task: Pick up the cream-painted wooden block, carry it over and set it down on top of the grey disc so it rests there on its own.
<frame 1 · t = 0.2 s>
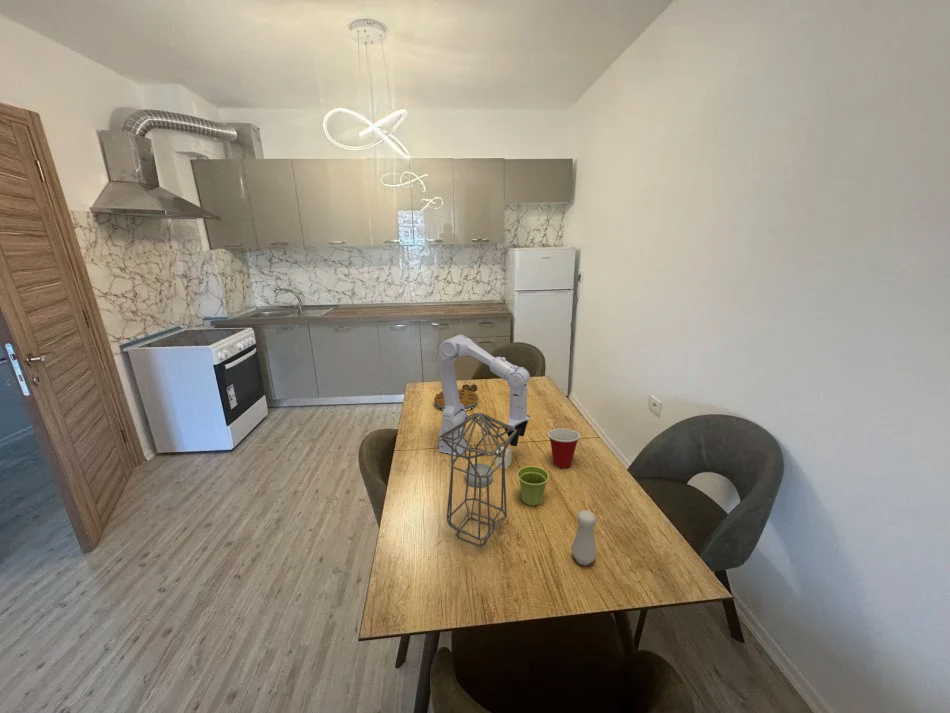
hand: (517, 440, 131), 10 cm above the table, fingers open, 7 cm apart
geometric lantern: (479, 533, 103), on the table
plastic cup: (562, 464, 134), on the table
pie: (456, 404, 187), on the table
salt shaker: (583, 559, 93), on the table
grey disc: (479, 480, 126), on the table
cream block: (503, 464, 135), on the table
plant pot: (532, 500, 116), on the table
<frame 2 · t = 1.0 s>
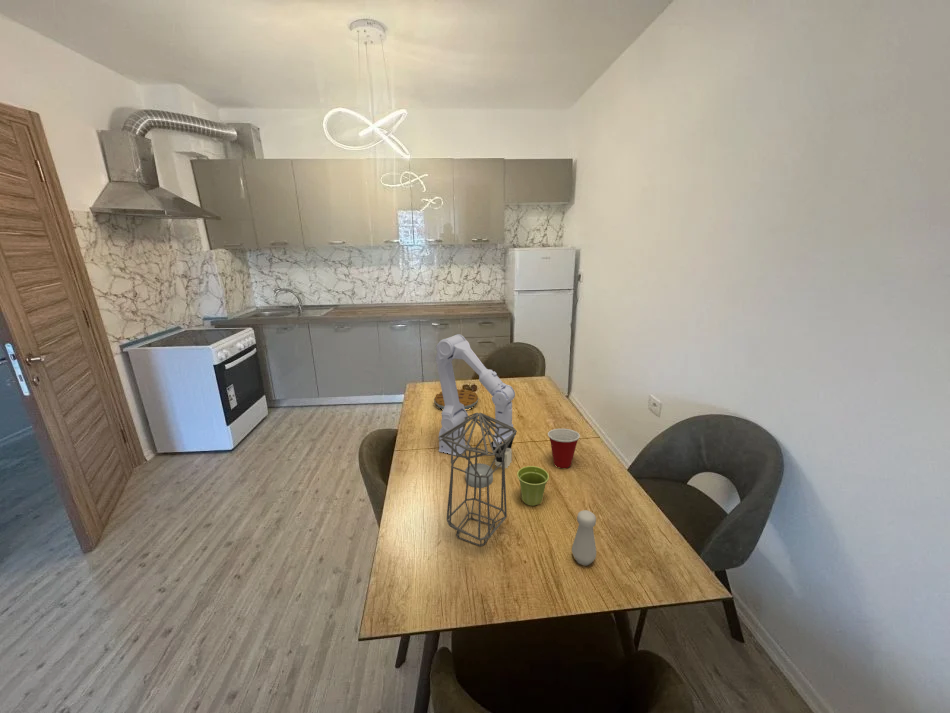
hand: (503, 456, 134), 3 cm above the table, fingers open, 7 cm apart
nothing on the table moved.
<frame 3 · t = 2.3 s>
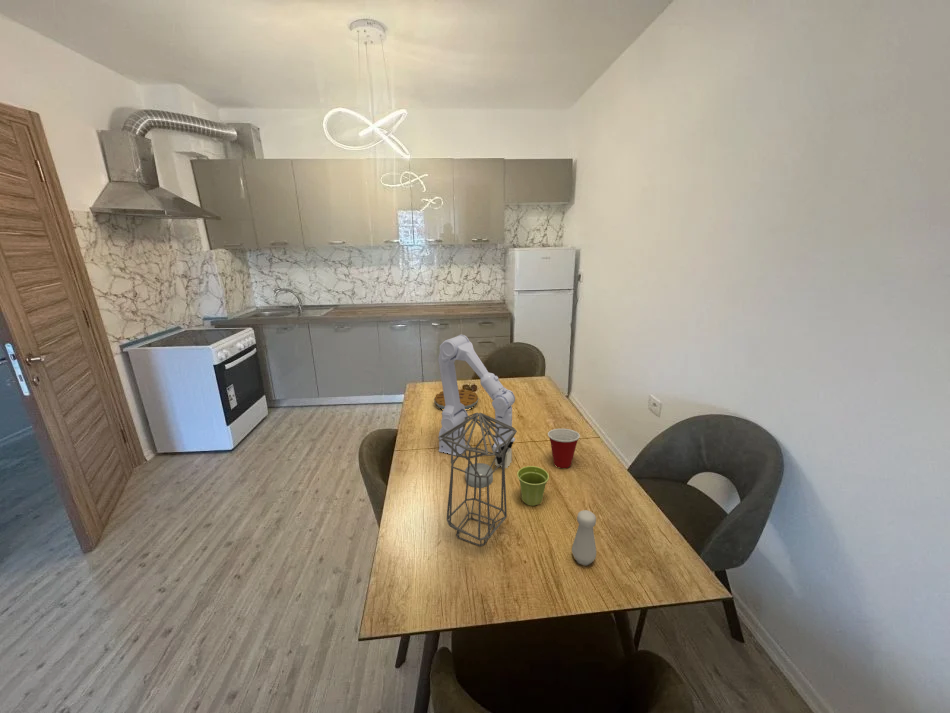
hand: (503, 460, 134), 1 cm above the table, fingers closed on cream block, 4 cm apart
cream block: (503, 463, 135), on the table, touching gripper
everything else where it was.
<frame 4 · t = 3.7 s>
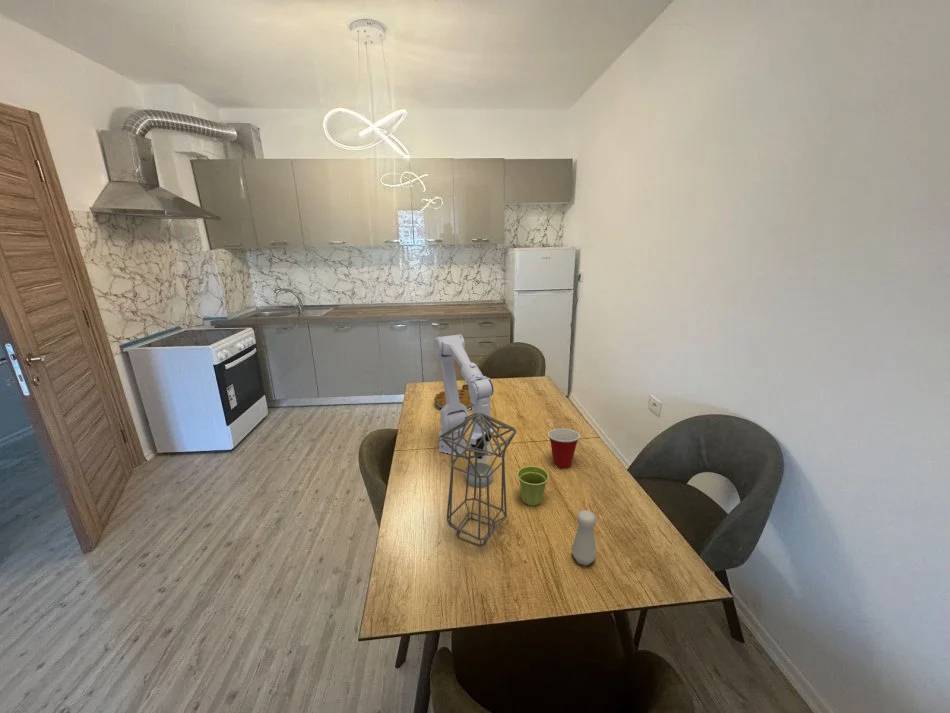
hand: (481, 454, 124), 9 cm above the table, fingers closed on cream block, 4 cm apart
cream block: (482, 459, 125), point 7 cm above the table, touching gripper
everything else where it was.
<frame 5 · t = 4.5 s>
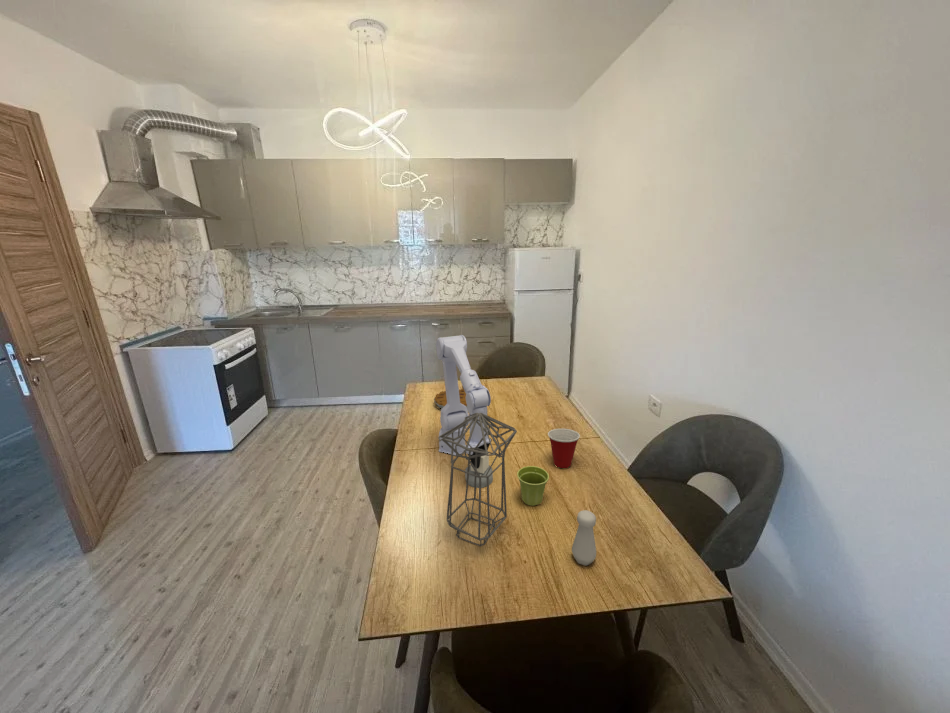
hand: (479, 463, 124), 6 cm above the table, fingers closed on cream block, 4 cm apart
cream block: (479, 468, 124), point 4 cm above the table, touching gripper
everything else where it was.
when the fingers open (6 cm above the table, at t = 5.2 s): cream block drops 1 cm, resting on grey disc.
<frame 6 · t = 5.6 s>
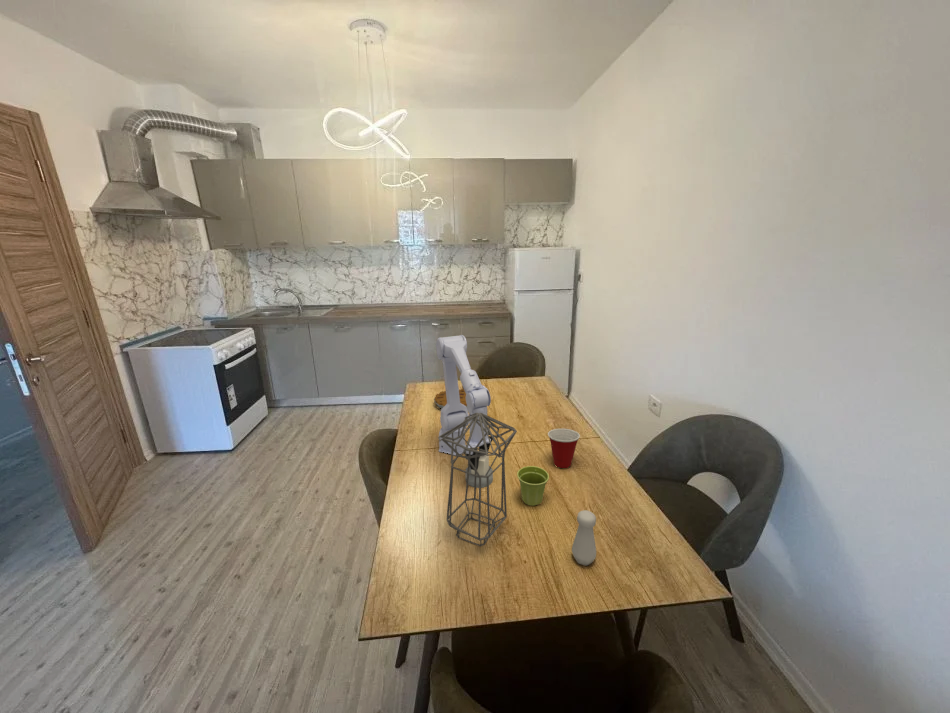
hand: (479, 463, 124), 6 cm above the table, fingers open, 7 cm apart
grey disc: (479, 480, 126), on the table, touching cream block
cream block: (480, 471, 125), point 3 cm above the table, touching grey disc
everything else where it was.
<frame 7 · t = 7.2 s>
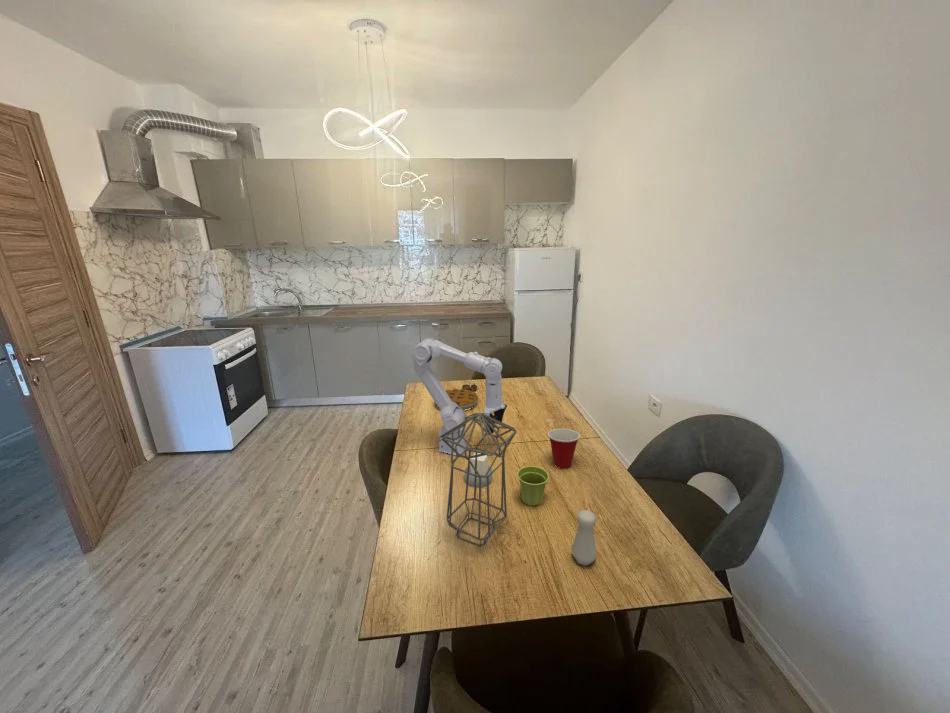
hand: (494, 427, 139), 10 cm above the table, fingers open, 7 cm apart
nothing on the table moved.
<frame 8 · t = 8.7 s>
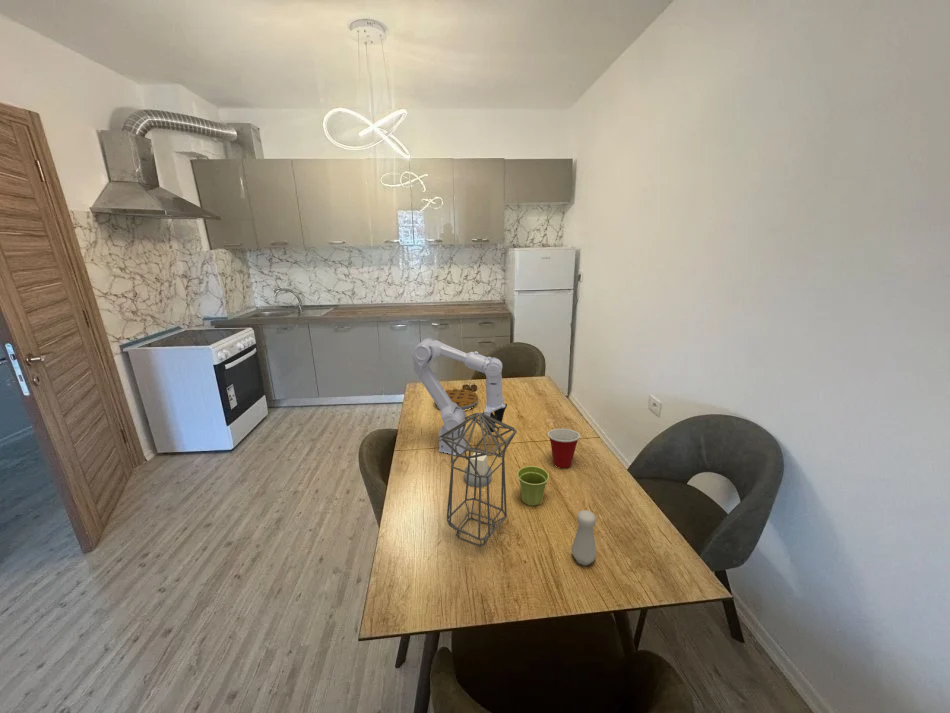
hand: (495, 427, 139), 10 cm above the table, fingers open, 7 cm apart
nothing on the table moved.
at the end: cream block 0.4 cm off-centre on the grey disc, point 3.5 cm above the grey disc's base; cream block tilted 0°; the gripper is holding nothing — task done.
